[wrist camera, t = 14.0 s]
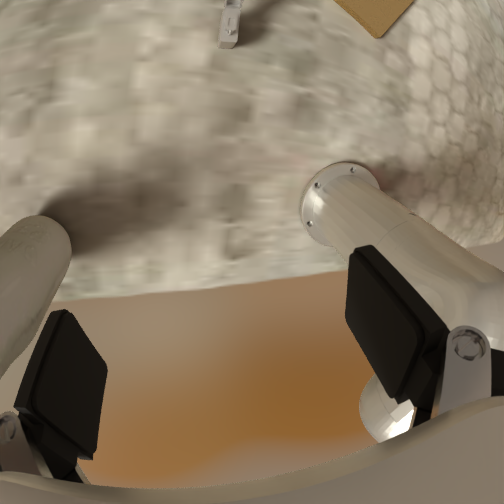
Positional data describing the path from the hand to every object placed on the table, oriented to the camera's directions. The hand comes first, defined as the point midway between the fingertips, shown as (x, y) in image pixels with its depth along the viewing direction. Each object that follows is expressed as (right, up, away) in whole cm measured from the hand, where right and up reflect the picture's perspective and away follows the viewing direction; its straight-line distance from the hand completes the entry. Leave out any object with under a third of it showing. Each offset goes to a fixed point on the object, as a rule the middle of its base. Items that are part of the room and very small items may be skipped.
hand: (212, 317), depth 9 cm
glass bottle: (-28, +4, +25) cm, 38 cm away
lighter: (-2, +28, +17) cm, 33 cm away
